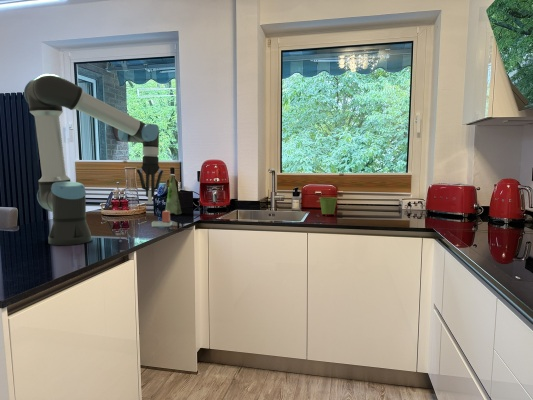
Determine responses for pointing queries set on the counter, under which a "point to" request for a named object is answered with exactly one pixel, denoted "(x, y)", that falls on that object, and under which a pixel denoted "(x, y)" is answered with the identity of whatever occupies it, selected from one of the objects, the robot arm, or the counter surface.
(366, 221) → the counter surface
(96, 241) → the counter surface
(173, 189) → the pouch
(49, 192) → the robot arm
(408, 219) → the counter surface
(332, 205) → the plant pot
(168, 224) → the console
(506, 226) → the counter surface
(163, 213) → the block
